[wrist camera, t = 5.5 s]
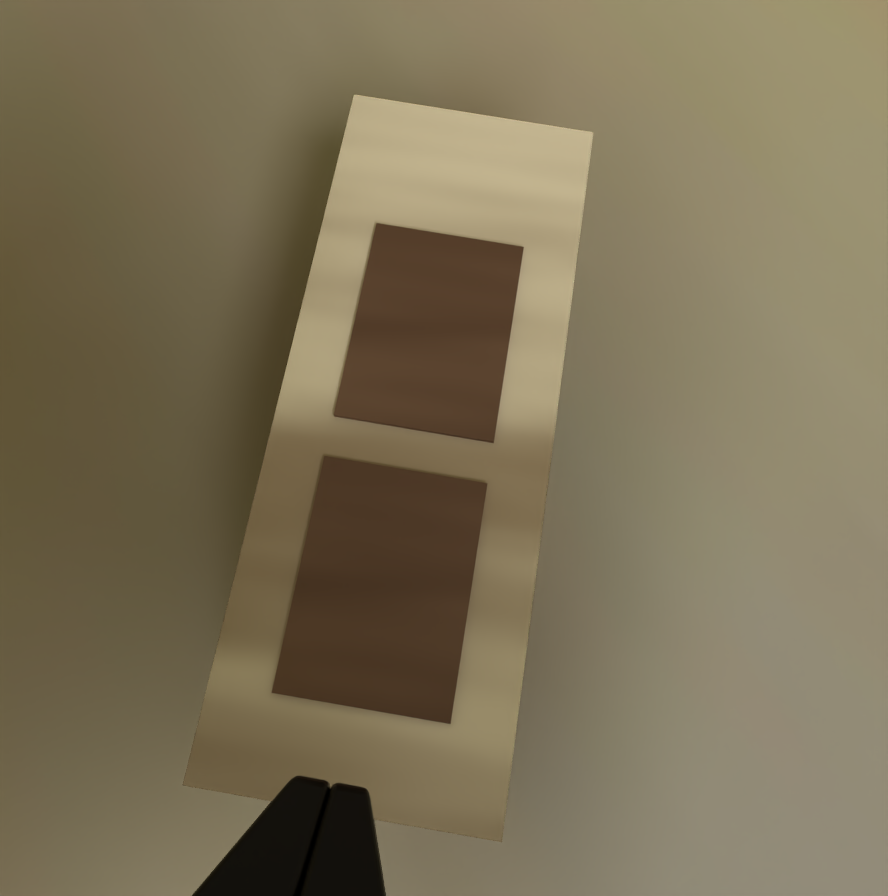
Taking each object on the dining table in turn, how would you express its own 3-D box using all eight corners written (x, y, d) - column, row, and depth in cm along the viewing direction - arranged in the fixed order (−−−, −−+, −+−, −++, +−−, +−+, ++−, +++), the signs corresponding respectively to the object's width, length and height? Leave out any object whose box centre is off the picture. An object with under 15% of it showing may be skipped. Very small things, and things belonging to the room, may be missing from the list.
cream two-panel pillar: (502, 843, 10) (594, 123, 14) (180, 786, 11) (355, 86, 14) (477, 797, 15) (553, 258, 18) (250, 757, 15) (370, 228, 19)
